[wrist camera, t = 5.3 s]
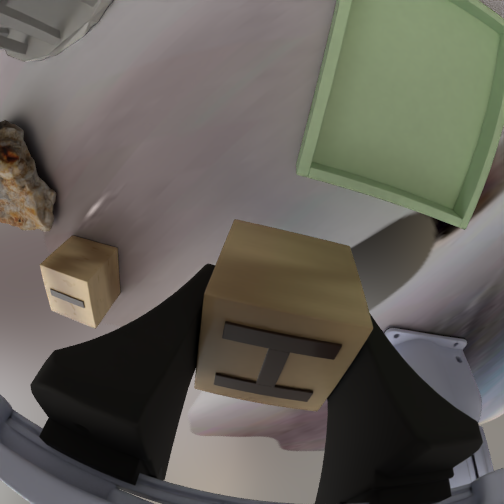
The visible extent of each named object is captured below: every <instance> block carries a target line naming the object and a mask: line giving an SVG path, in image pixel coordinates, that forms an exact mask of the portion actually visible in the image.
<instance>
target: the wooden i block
mask: <svg viewBox="0 0 504 504" xmlns="http://www.w3.org/2000/svg"><path fill="white" fill-rule="evenodd" d="M40 268H41V272H42V276H43V281H44V285H45V288H46V292H47V296H48V299H49V303H50V306H51V310H52V311H54V312H57V313H59V314H61V315H63V316H66V317H68V318H71V319H73V320H75V321H78V322H80V323H83V324H85V325H88V326H90V327H93V328H97V326H98V325H99V323H100V322H101V320H102V319H103V318H104V316H105V315H106V313H107V312H108V310H109V309H110V307H111V306H112V304H113V303H114V302H115V300H116V299H117V297H118V296H119V295H120V293H121V292H120V280H119V264H118V248H116V247H112V246H109V245H105V244H101V243H98V242H94V241H91V240H87V239H84V238H80V237H77V236H71V237H70V238H69V239H68V240H67V241H65V242H64V243H63V244H62V245H61V246H60V247H59V248H58V249H56V250H55V251H54V252H53V253H52V254H51V255H50V256H49V257H48V258H46V259H45V260H44V261H43V262H42V263H41V264H40Z"/></svg>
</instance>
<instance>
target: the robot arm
mask: <svg viewBox="0 0 504 504" xmlns="http://www.w3.org/2000/svg"><path fill="white" fill-rule="evenodd" d="M214 268H215V265H211V264H207V265H205V266H204V267H203V268H202V269H201V270H200V271H199V272H198V273H197V274H196V275H195V276H194V277H193V278H192V279H190V280H189V281H188V282H187V283H186V284H185V285H184V286H182V287H181V288H180V289H179V290H178V291H177V292H175V293H174V294H173V295H172V296H170V297H169V298H168V299H166V300H165V301H164V302H162V303H161V304H160V305H158V306H157V307H155V308H154V309H152V310H151V311H149V312H148V313H146V314H144V315H143V316H141V317H139V318H138V319H136V320H134V321H132V322H130V323H128V324H127V325H125V326H123V327H121V328H119V329H117V330H115V331H113V332H110V333H108V334H105V335H103V336H100V337H98V338H96V339H93V340H90V341H87V342H84V343H81V344H77V345H73V346H70V347H67V348H63V349H59V350H55V351H54V352H53V353H52V354H51V355H50V357H49V358H48V359H47V360H46V362H45V363H44V365H43V366H42V368H41V369H40V371H39V372H38V374H37V375H36V377H35V379H34V380H33V382H32V383H31V390H32V394H33V395H34V397H35V399H36V400H37V402H38V403H39V405H40V406H41V407H42V409H43V410H44V412H45V413H46V414H47V416H48V417H49V418H48V420H47V422H46V424H45V426H44V428H41V427H39V426H38V425H36V424H34V423H33V422H31V421H30V420H28V419H26V418H25V417H23V416H22V415H20V414H19V413H17V412H16V411H14V410H13V409H12V407H11V405H10V404H9V403H8V402H7V401H6V399H5V398H4V397H2V396H1V395H0V480H1V481H2V482H3V483H5V484H6V485H7V486H8V487H10V488H11V489H12V490H13V491H15V492H16V493H17V494H19V495H20V496H21V497H23V498H24V499H26V500H27V501H28V502H30V503H31V504H154V503H151V502H149V501H146V500H143V499H141V498H139V497H136V496H134V495H137V496H140V497H143V498H146V499H149V500H152V501H155V502H158V503H162V504H292V503H278V502H268V501H258V500H250V499H244V498H237V497H231V496H225V495H220V494H214V493H210V492H205V491H200V490H196V489H192V488H188V487H184V486H180V485H177V484H173V483H169V482H166V481H163V480H164V479H165V476H166V471H167V467H168V463H169V458H170V454H171V450H172V446H173V442H174V438H175V434H176V430H177V427H178V423H179V419H180V415H181V412H182V408H183V405H184V401H185V398H186V394H187V391H188V387H189V385H190V382H191V379H192V376H193V373H194V371H195V369H196V364H197V354H198V344H199V335H200V325H201V316H202V308H203V299H204V293H205V290H206V288H207V285H208V283H209V280H210V278H211V275H212V273H213V270H214ZM370 317H371V321H372V325H373V330H372V332H371V333H370V335H369V337H368V338H367V340H366V341H365V343H364V345H363V346H362V348H361V349H360V351H359V353H358V354H357V356H356V357H355V359H354V360H353V362H352V363H351V365H350V366H349V368H348V369H347V371H346V372H345V374H344V375H343V377H342V378H341V380H340V381H339V382H338V384H337V385H336V387H335V388H334V389H333V391H332V392H331V394H330V395H329V396H328V398H327V399H328V420H327V434H326V444H325V453H324V460H323V468H322V473H321V479H320V483H319V488H318V493H317V497H316V501H315V504H504V469H503V468H501V469H499V470H496V471H494V470H493V465H492V461H491V457H490V452H489V449H488V445H487V441H486V438H485V434H484V431H483V428H482V427H481V426H479V425H478V422H479V420H480V416H481V411H482V400H481V395H480V392H479V389H478V386H477V384H476V381H475V379H474V376H473V374H472V371H471V369H470V367H469V364H468V362H467V359H466V357H465V355H464V353H463V349H464V347H465V346H466V345H467V342H466V340H465V339H460V338H453V337H446V336H440V335H433V334H427V333H421V332H415V331H409V330H403V329H397V328H389V329H387V330H386V332H385V333H383V331H382V330H381V329H380V327H379V326H378V324H377V323H376V322H375V320H374V319H373V317H372V316H371V314H370ZM395 334H396V335H395ZM120 489H121V490H120ZM122 490H123V491H122ZM124 491H126V492H124ZM127 492H129V493H132V494H134V495H132V494H129V493H127Z"/></svg>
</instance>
